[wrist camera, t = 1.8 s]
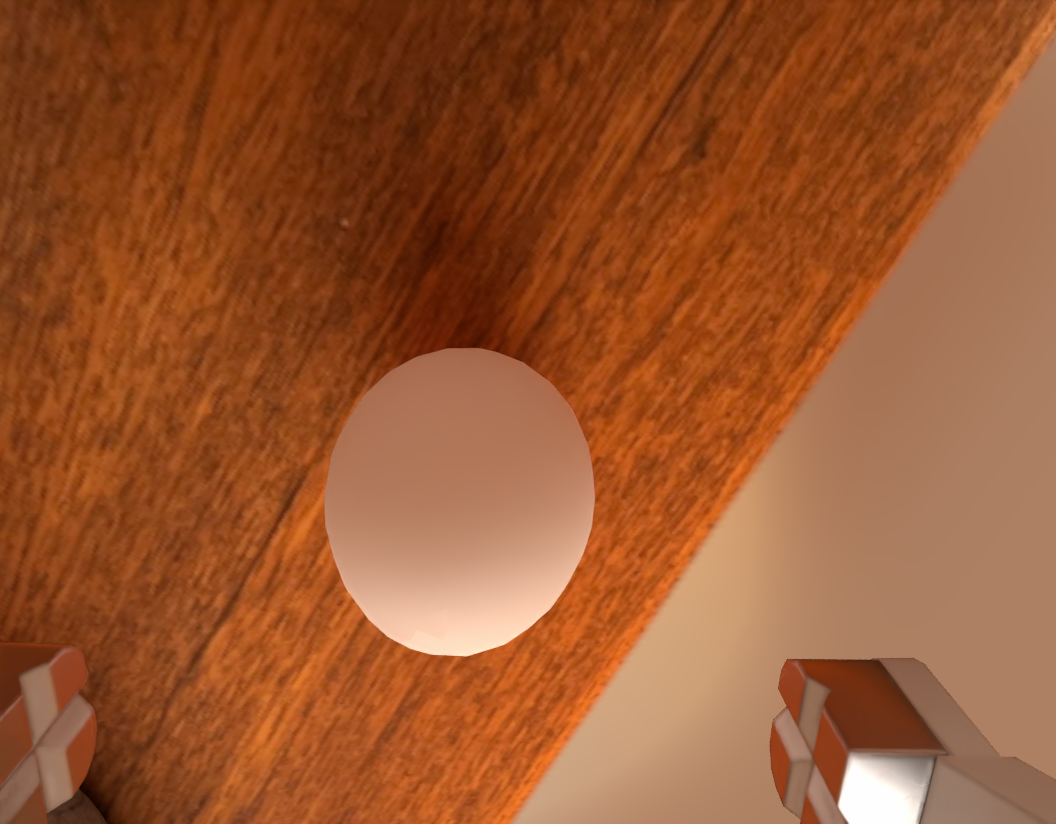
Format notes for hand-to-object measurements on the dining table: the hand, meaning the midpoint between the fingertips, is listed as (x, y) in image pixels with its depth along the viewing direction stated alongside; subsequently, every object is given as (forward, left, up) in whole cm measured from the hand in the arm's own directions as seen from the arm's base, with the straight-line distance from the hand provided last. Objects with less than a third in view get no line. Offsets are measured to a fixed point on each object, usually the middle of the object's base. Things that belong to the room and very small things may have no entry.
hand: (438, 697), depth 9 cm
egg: (0, 0, -9) cm, 9 cm away
